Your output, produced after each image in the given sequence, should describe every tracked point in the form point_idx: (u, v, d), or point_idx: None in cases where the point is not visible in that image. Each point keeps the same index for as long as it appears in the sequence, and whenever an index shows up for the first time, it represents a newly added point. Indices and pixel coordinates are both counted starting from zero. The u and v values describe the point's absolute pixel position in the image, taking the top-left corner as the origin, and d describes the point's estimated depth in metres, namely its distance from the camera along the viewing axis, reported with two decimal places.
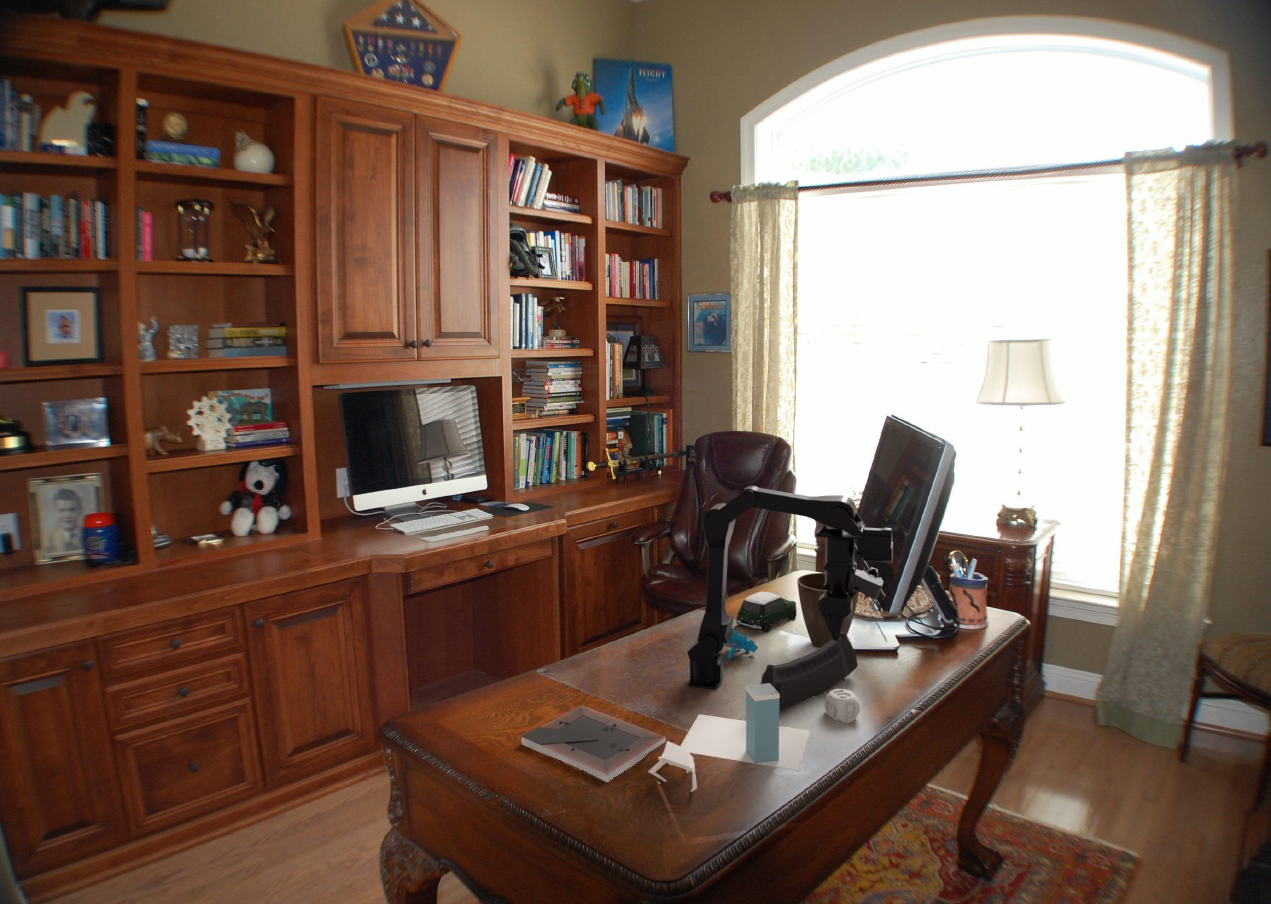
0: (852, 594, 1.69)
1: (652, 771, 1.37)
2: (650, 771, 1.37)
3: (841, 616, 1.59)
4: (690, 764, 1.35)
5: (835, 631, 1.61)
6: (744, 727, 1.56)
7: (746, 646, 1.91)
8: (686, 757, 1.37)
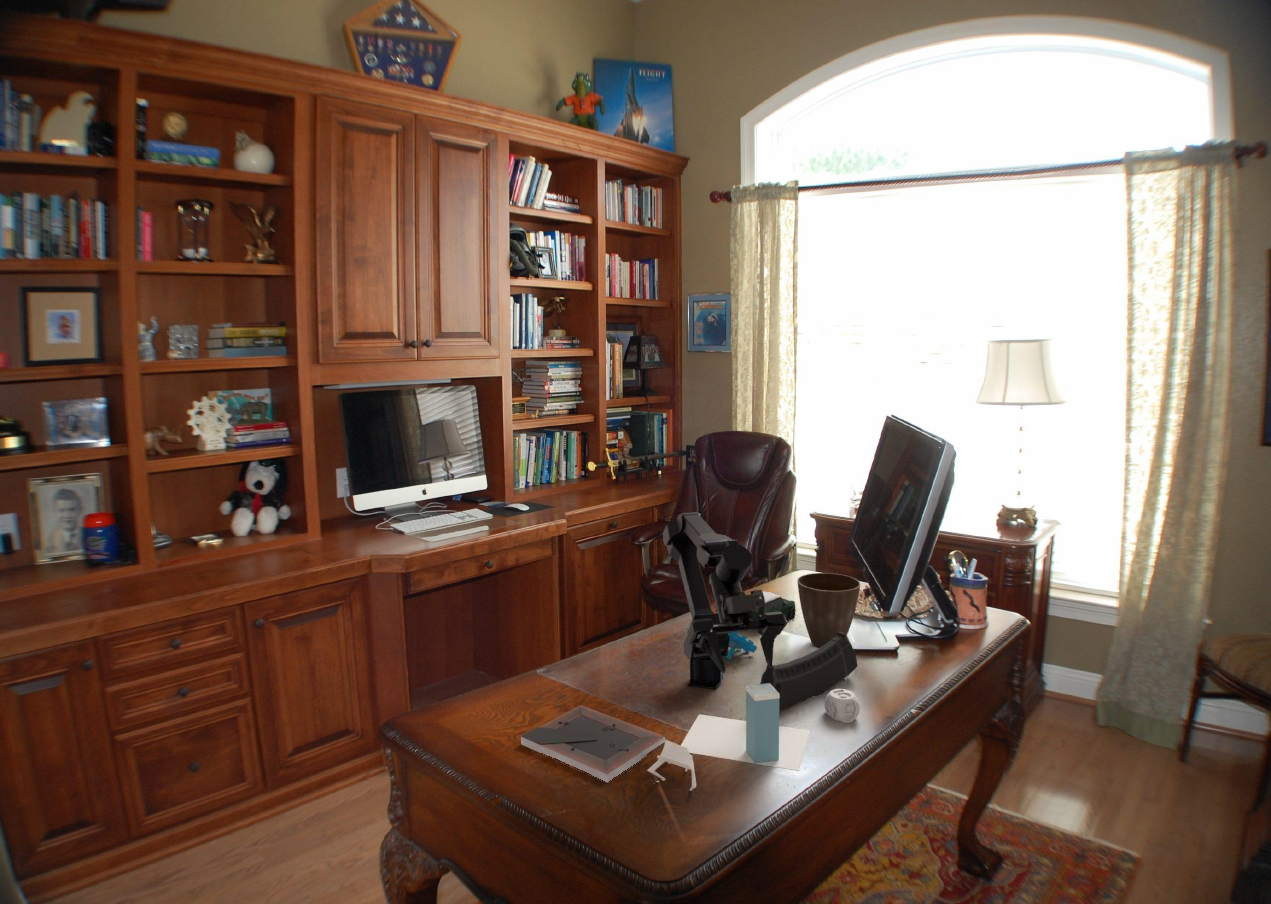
0: (767, 629, 1.54)
1: (651, 770, 1.37)
2: (649, 770, 1.38)
3: (709, 642, 1.52)
4: (689, 762, 1.35)
5: (718, 663, 1.51)
6: (744, 727, 1.56)
7: (745, 646, 1.91)
8: (685, 756, 1.37)
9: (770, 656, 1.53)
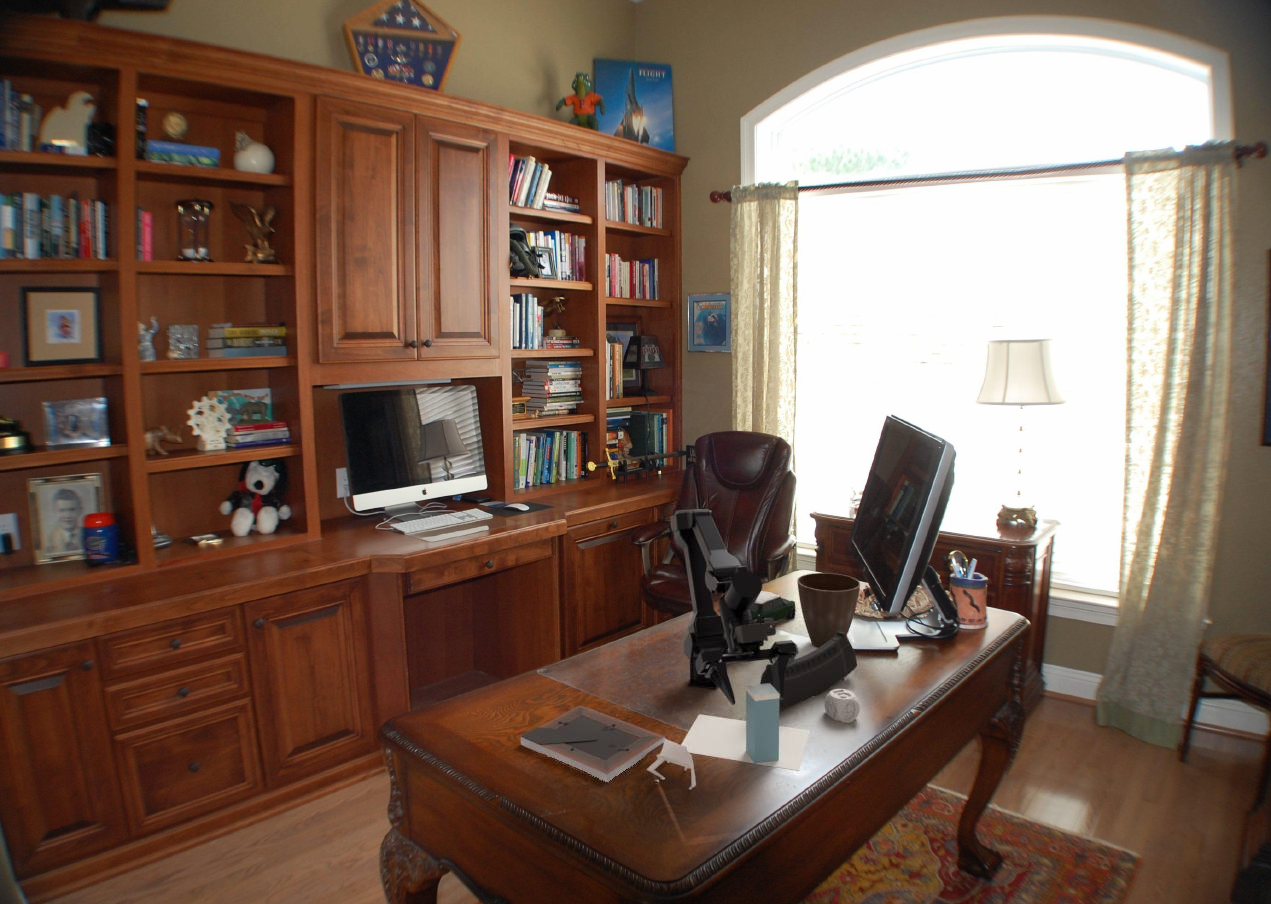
0: (778, 659, 1.49)
1: (651, 769, 1.38)
2: (649, 769, 1.38)
3: (718, 672, 1.47)
4: (689, 761, 1.36)
5: (728, 694, 1.46)
6: (744, 727, 1.56)
7: None
8: (684, 755, 1.38)
9: (781, 687, 1.48)
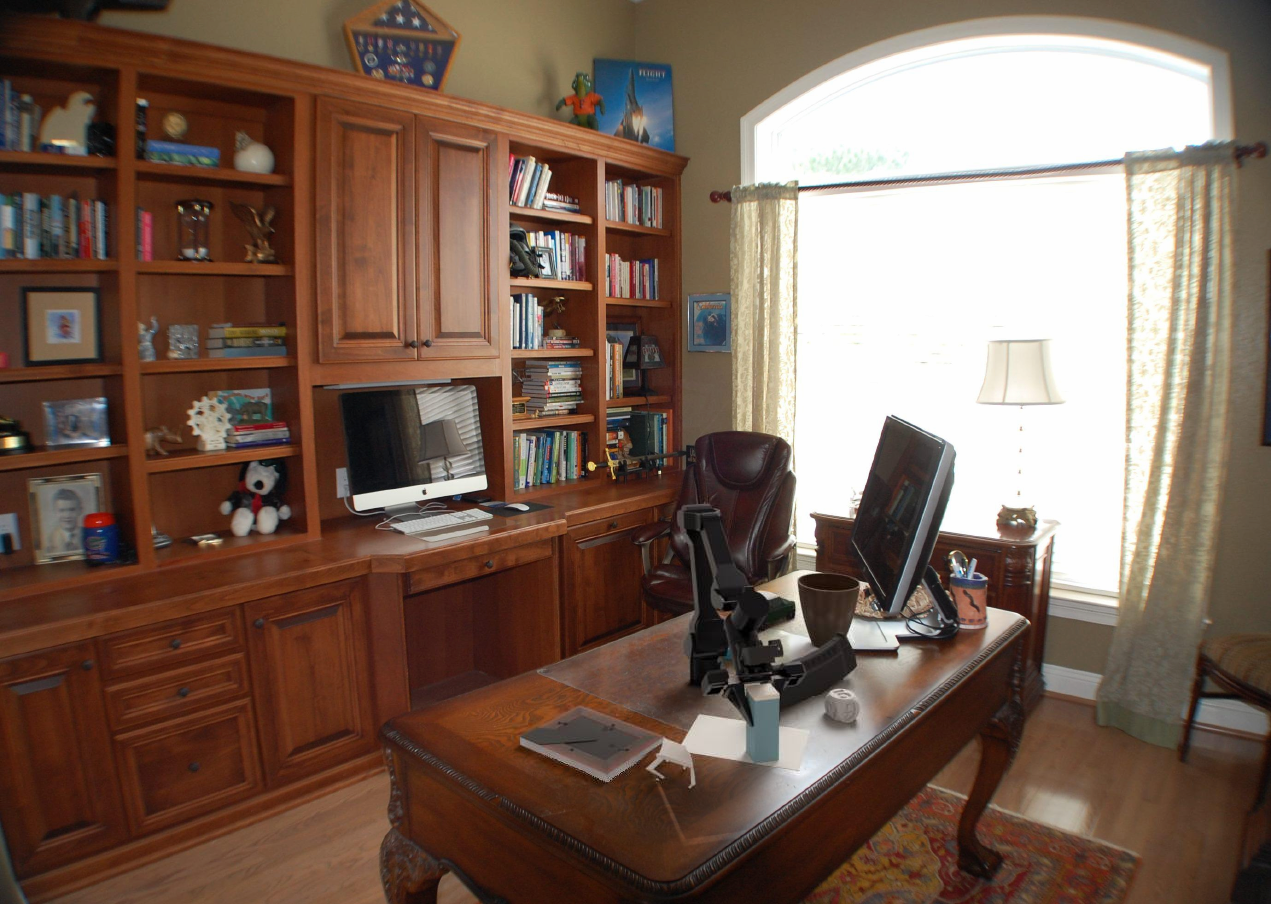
0: (774, 682, 1.46)
1: (650, 768, 1.38)
2: (648, 768, 1.38)
3: (736, 693, 1.45)
4: (688, 760, 1.36)
5: (746, 716, 1.44)
6: (744, 727, 1.56)
7: None
8: (683, 754, 1.38)
9: None
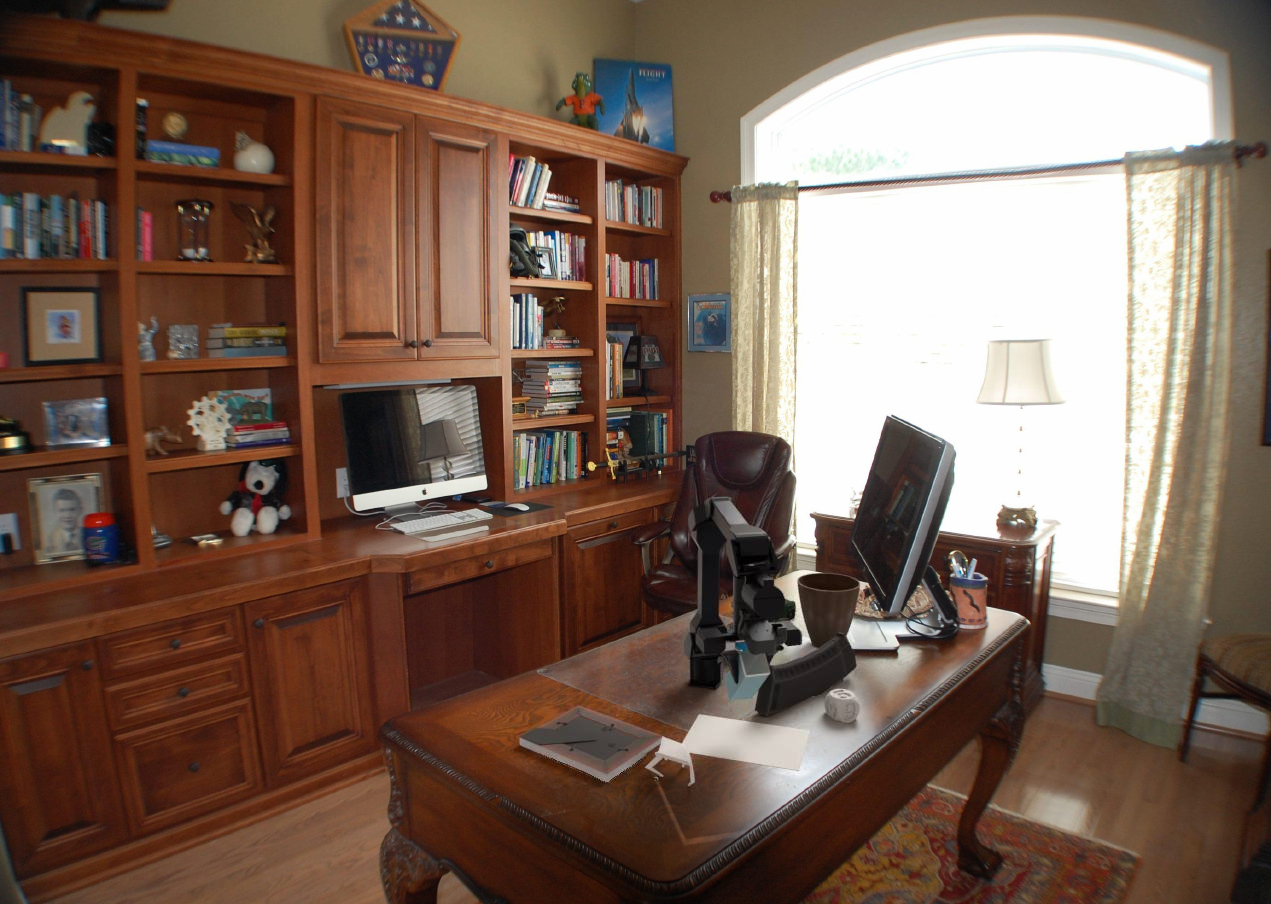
0: None
1: (649, 766, 1.39)
2: (647, 767, 1.39)
3: None
4: (687, 758, 1.37)
5: (733, 673, 1.48)
6: (744, 727, 1.56)
7: (743, 647, 1.91)
8: (682, 752, 1.39)
9: None
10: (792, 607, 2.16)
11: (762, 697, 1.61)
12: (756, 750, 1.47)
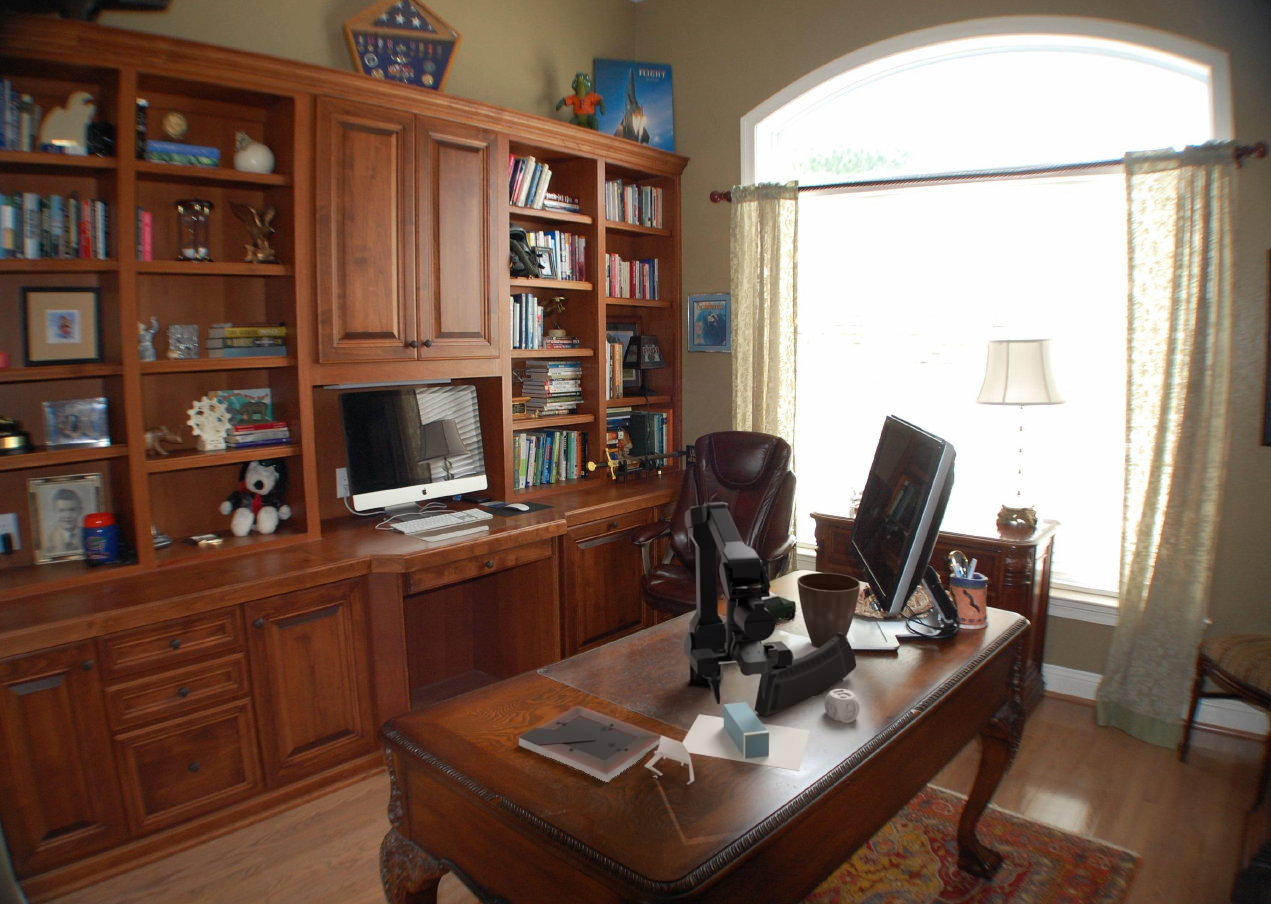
0: (771, 669, 1.50)
1: (648, 765, 1.39)
2: (646, 765, 1.39)
3: None
4: (686, 757, 1.37)
5: (714, 693, 1.51)
6: None
7: None
8: (681, 751, 1.39)
9: (767, 690, 1.52)
10: (792, 607, 2.15)
11: (762, 697, 1.61)
12: None
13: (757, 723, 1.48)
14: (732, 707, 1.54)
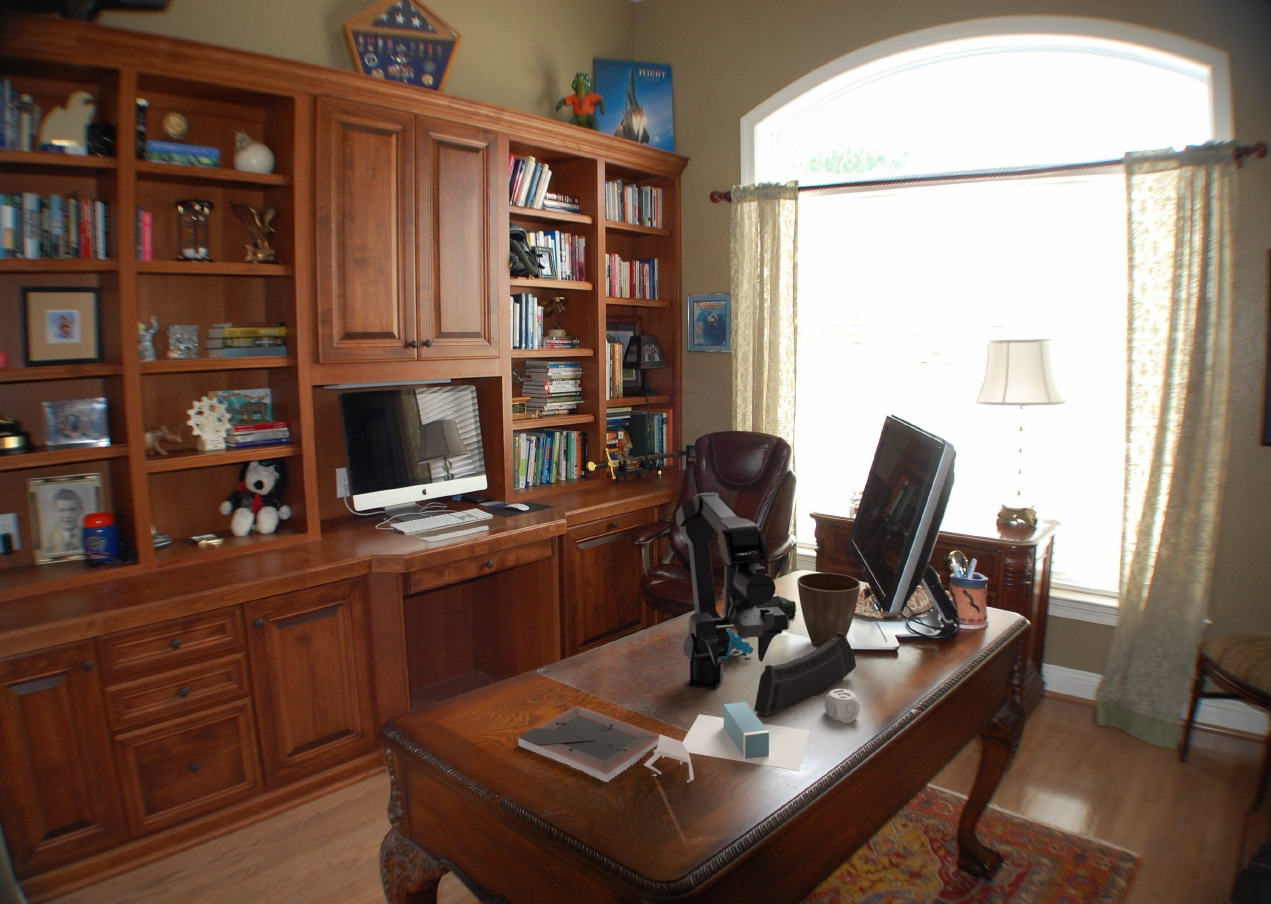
0: (767, 633, 1.56)
1: (648, 764, 1.39)
2: (646, 764, 1.39)
3: None
4: (686, 755, 1.38)
5: (712, 656, 1.57)
6: None
7: (742, 647, 1.90)
8: (680, 749, 1.40)
9: (763, 654, 1.58)
10: (792, 607, 2.15)
11: (762, 697, 1.60)
12: None
13: (757, 723, 1.48)
14: (732, 707, 1.54)
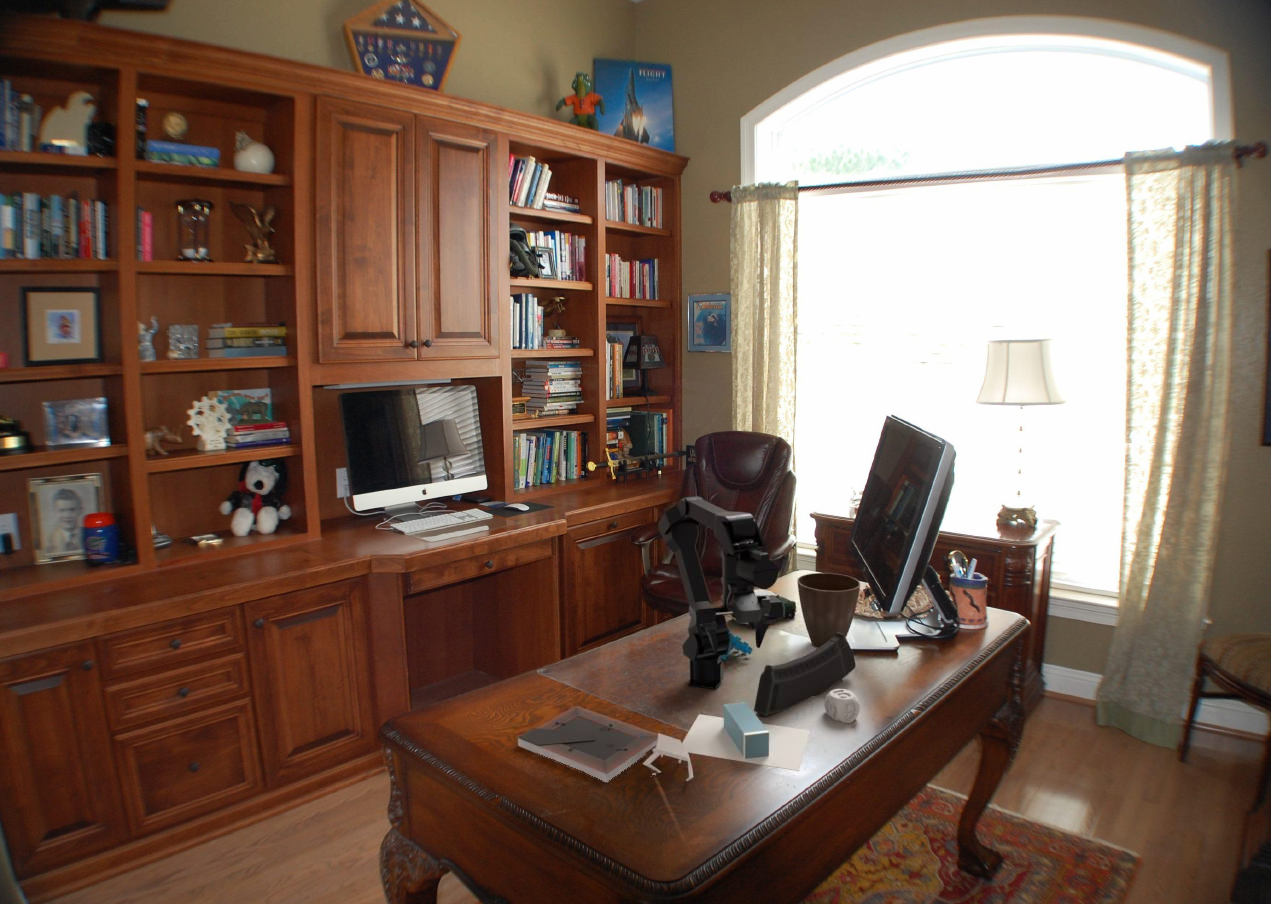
0: (764, 619, 1.63)
1: (647, 763, 1.40)
2: (645, 763, 1.40)
3: None
4: (685, 754, 1.38)
5: (712, 642, 1.63)
6: None
7: (741, 648, 1.90)
8: (680, 748, 1.40)
9: (760, 640, 1.65)
10: (791, 607, 2.15)
11: (761, 697, 1.60)
12: None
13: (757, 723, 1.48)
14: (732, 707, 1.54)
